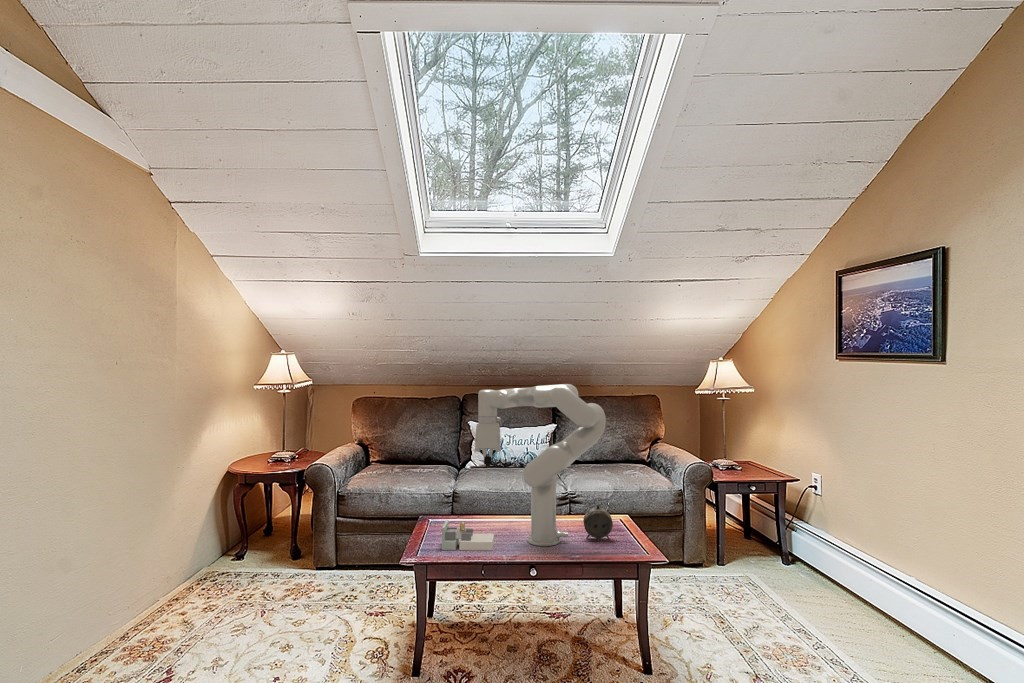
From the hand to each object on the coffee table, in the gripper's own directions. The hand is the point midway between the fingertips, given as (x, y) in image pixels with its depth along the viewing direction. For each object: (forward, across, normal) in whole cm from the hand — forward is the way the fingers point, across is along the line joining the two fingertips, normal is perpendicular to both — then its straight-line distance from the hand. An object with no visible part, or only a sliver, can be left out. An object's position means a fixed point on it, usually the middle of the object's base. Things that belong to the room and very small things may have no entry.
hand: (487, 466), depth 224 cm
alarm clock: (+27, -43, +6) cm, 51 cm away
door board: (+27, +3, +14) cm, 31 cm away
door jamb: (+27, +13, +14) cm, 33 cm away
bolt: (+24, +11, +14) cm, 30 cm away
